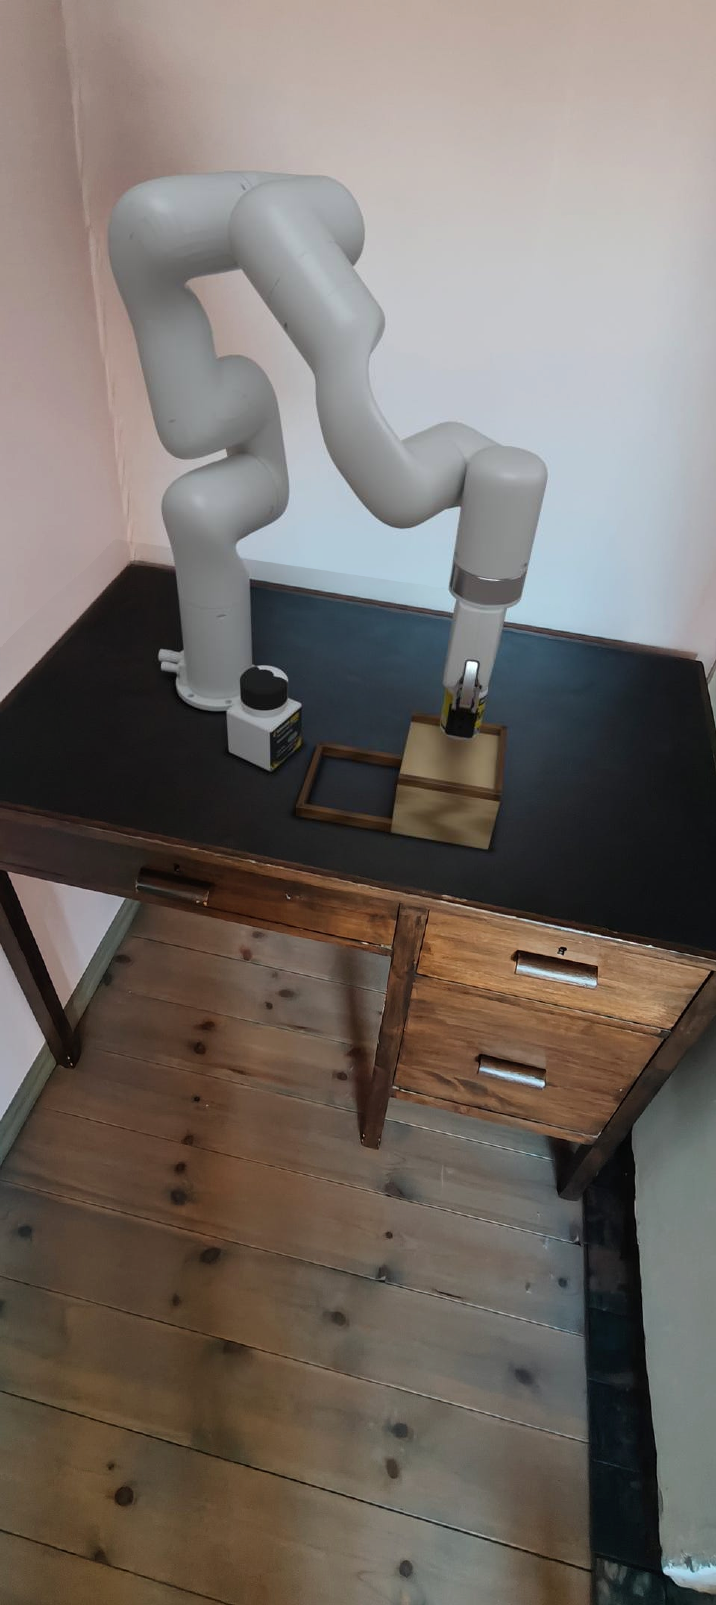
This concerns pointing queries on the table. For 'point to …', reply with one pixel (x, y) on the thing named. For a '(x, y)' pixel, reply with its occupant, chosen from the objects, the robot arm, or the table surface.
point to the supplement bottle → (448, 701)
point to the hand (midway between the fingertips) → (461, 719)
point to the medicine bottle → (264, 718)
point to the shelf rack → (429, 784)
